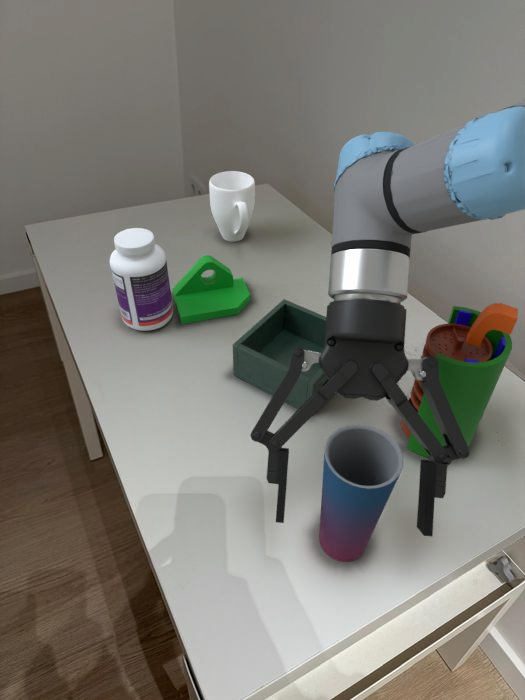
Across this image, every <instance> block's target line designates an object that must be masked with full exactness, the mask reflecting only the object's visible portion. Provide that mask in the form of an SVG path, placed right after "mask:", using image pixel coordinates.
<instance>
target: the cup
mask: <svg viewBox="0 0 525 700" xmlns="http://www.w3.org/2000/svg"><path fill="white" fill-rule="evenodd" d="M403 467H404V455H403V453H402V450H401V447H400V446H399V444H398V443H397V442H396V440H395V439H394V438H393V437H392V436H391V435H390V434H388V432H386V431H384V430H382V429H380V428H378V427H376V426H373V425H369V424H362V423H352V424H348V425H347V424H346V425H344V426H342V427H339V428H338V429H336V430H334V431H333V432H332V433H331V434H330V435H329V437H328V438H327V439H326V441H325V445H324V453H323V468H322V469H323V470H322V485H321V502H320V515H319V516H320V517H319V531H318V532H319V533H318V540H319V544H320V547H321V548H322V550H323V551H324V553H325V554H326V555H327V556H328V557H330V558H332V559H334V560H335V561H339V562H345V563H346V562H352V561H355V560H357V559H359V558H360V557H361V556H362V555H363V554H364V552H365V550H366V548H367V546H368V544H369V541H370V540H371V537H372V536H373V533H374V532H375V528H376V526H377V525H378V522H379V520H380V518H381V517H382V513H383V511H384V509H385V507H386V505H387V503H388V501H389V499H390V496H391V494H392V492H393V490H394V488H395V486H396V484H397V481H398V480H399V478H400V476H401V473H402V470H403Z"/></svg>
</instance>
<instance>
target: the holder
mask: <svg viewBox="0 0 525 700" xmlns="http://www.w3.org/2000/svg"><path fill="white" fill-rule="evenodd" d="M325 329H326V315H322V314H320V313H317V312H315V311H314V310H311V309H308V308H306V307H303V306H301V305H299V304H297V303H294V302H292V301H289V300H288V299H282V300H281V301H280V302H279V303H278V304H277V305H275V306H274V307H273V308H272V309H270V311H269V312H267V314H265V315H264V316H263V317H262V318H261V319H259V320H258V322H256V323H255V324H254V325H253V326H252V327H250V328H249V330H247V331H246V332H245V333H244V334H243V335H242V336H241V337H240V338H238V339H237V340H236V341H234V343H233V344H232V369H233V371H232V372H233V374H232V375H233V376H235V377H236V378H238V379H240V380H242V381H243V382H246V383H248V384H249V385H251V386H253V387H255V388H257V389H259V390H261V391H263V392H265V393H267V394H268V395H271V396H273V395H274V393H275V392H276V390H277V388H278V387H279V385H280V383H281V382H282V380H283V378H284V377H285V375H286V373H287V372H288V370H289V366H290V360H291V355H292V351H293V349H294V348H296V347H301V348H302V349H304V350H308V351H313V352H318V353H321V351H322V349H323V347H324V342H325ZM326 380H327V377H326V376H325V374H324V373H323V371H322V369H321V368H320V366H319V364H318V363H314V364H312V365H311V367H310V369H309V370H308V371H306V372H303V371H301V373H300V376H299V378H298V380H297V382H296V383H295V385H294V387H293V388H292V390H291V392H290V393H289V395H288V397H287V398H286V400H285V402H284V403H285V404H287V405H290V406H291V407H294V408H295V409H297V410H298V409H299V408H300V407H301V406H302V405H303V404H304V403H305V402H306V401H307V400H308V399H309V398H310V397H311V396H312V395H313V394H314V393H315V392H316V391H317V389H318V388H319V387H320V386H321V385H322V384H323V383H324V382H325V381H326Z"/></svg>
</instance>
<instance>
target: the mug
mask: <svg viewBox="0 0 525 700" xmlns="http://www.w3.org/2000/svg"><path fill="white" fill-rule="evenodd" d="M208 191H209V206H210V211H211V214H212V217H213V219H214V223H215V224H216V226H217V229H218V231H219V233H220V236H221V237H222V239H223V240H225V241H227V242H239V241H242V240H243V239H244V238H245V235H246V233H247V231H248V228H249V225H250V223H251V220H252V218H253V215H254V211H255V205H256V204H255V203H256V201H255V200H256V196H255V195H256V181H255V178H254V177H253V176H252V175H250V174H248V173H246V172H244V171H243V172H242V171H238V170H227V171H222V172H217V173H216V174H214V175H212V176H211V177H210V178H209V181H208Z"/></svg>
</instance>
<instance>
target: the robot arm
mask: <svg viewBox="0 0 525 700" xmlns="http://www.w3.org/2000/svg"><path fill="white" fill-rule="evenodd" d="M333 192H334V193H333V194H334V201H333V219H332V231H331V233H332V235H331V250H330V264H329V277H328V287H327V289H328V290H327V295H328V296H329V297H330V298H331V299H333V301H330V302H329V303H328V305H327V306H326V315H325V317H326V329H325V342H324V347H323V349H322V351H321V353H318V352H313V351H308V350H304V349H302V348H301V347H296V348H294V349H293V351H292V355H291V360H290V366H289V370H288V372H287V373H286V375H285V377H284V378H283V380H282V382H281V383H280V385H279V387H278V388H277V390H276V392H275V393H274V395H272V397H271V399H270V400H269V402H268V403H267V405H266V407H265V408H264V410H263V412H262V414H261V415H260V417H259V418H258V420H257V422H256V424H255V426H254V427H253V428H252V430H251V432H250V438H251V440H252V441H253V442H255V443H259V444H261V445H263V446H265V447H266V448H267V451H268V453H267V454H268V455H267V469H266V480H267V484H272V485H277V497H276V498H277V499H276V511H275V514H276V515H275V523H278V524H279V523H280V524H284V523H285V512H286V511H285V510H286V499H287V498H286V497H287V485H288V482H287V481H288V473H289V471H288V470H289V469H288V468H289V459H290V458H289V456H290V449H289V447H283V446H284V445H285V444H286V443H287V442H288V441H289V440H290V439H291V438H292V437H293V436H294V435H295V434H296V433H297V432H298V431H299V430H300V429H301V428H302V427H303V426H304V425H305V424H306V423H307V422H308V421H309V420H310V419H311V418H312V417H313V416H314V415H315V414H316V412H318V411H319V410H320V409H321V408H322V407H323V406H324V405H325V404H326V403H327V402H328V401H329V400H330V399H331V398H333V396H334V395H335V394H337V395H338V396H340V397H342V398H344V399H359V398H362V399H365V400H369V401H375V402H376V401H380V400H383V399H384V398H385V400H386V401H387V402H388V404H390V406H392V408H393V409H394V410H395V412H396V413H397V415H398V416H399V418H400V419H401V418H402V420H403V421H404V422H405V424H406V425H407V427H408V428H409V429H410V431H411V432H412V433H413V435H414V436H415V437H416V439H417V440H418V441H419V443H420V444H421V445H422V447H423V448H424V450H425V451H426V452H427V454H428V455H429V456H430V458H429V459H420V467H419V481H418V482H419V486H418V497H417V498H418V501H417V513H416V515H417V516H416V529H418V530H419V532H420V533H421V534H422V535H423V536H424V537H433V532H434V516H435V502H436V501H435V499H444V498H445V495H446V491H447V477H448V475H447V474H448V466H450V465H451V464H452V462H453V461H456V460H459V459H461V460H466V459H467V458H468V457H469V456H470V449H469V447H468V446H467V444H466V442H465V439H464V437H463V435H462V432H461V430H460V428H459V425H458V423H457V421H456V418H455V416H454V414H453V411H452V409H451V407H450V404H449V402H448V400H447V397H446V395H445V393H444V390H443V388H442V386H441V383H440V381H439V364H438V360H437V359H436V358H435V357H424V358H422V359H421V358H409V359H408V358H407V355H406V353H405V352H406V351H405V340H406V328H407V327H406V326H407V324H406V323H407V308H406V307H405V306H404V305H403V304H401V303H403V302H404V301H406V300H407V299H408V296H409V295H408V294H409V293H408V292H409V275H410V260H411V259H410V258H411V249H412V238H413V235H415V234H416V235H417V234H422V233H427V232H430V231H435V230H440V229H445V228H450V227H455V226H459V225H465V224H470V223H474V222H479V221H486V220H490V221H492V220H498V219H502V218H504V217H505V216H506V215H508V214H512V213H513V214H514V213H516V212H520V211H523V210H525V99H523V100H521V101H519V102H516V103H513V104H511V105H510V106H506V107H505V108H502V109H500V110H497V111H493V112H492V111H491V112H489V113H485V114H484V115H482V116H480V117H476V118H474V119H472V120H470V121H468V122H466V123H465V124H461V125H459V126H457V127H454V128H451V129H449V130H447V131H444V132H441V133H440V134H437V135H434V136H433V137H431V138H428V139H426V140H424V141H421V142H419V143H417V144H414V143H413V141H412V139H409V137H407V136H405V135H403V134H400V133H396V132H391V131H376V132H374V133H372V134H366V133H363V134H359V135H358V136H355V137H353V138H351V139H350V140H348V141H347V142H346V143H345V144H344V145H343V146H342V148H341V150H340V152H339V156H338V162H337V169H336V177H335V182H334V185H333ZM314 363H318V364H319V366H320V368H321V369H322V371H323V373H324V374H325V376H326V377H327V380H326V381H325V382H324V383H323V384H322V385H321V386H320V387H319V388H318V389H317V391H316V392H315V393H314V394H313V395H312V396H311V397H310V398H309V399H308V400H307V401H306V402H305V403H304V404H303V405H302V406H301V407H300V408H299V409H297V410H296V411H295V412H294V413H293V414H291V415H290V417H289V418H288V419H287V420H286V421H285V422H284V423H283V424H282V425H281V426H280V427H279V428H278V429H277V430H276V431H275V432H272V431H269V429H270V427H271V426H272V423H274V420H275V419H276V416H277V415H278V413H279V412H280V410H281V409H282V407H283V406H284V404H285V403H286V402H285V400H286V398H287V397H288V395H289V393H290V392H291V390H292V388H293V387H294V385H295V383H296V382H297V380H298V378H299V376H300V373H301V371H303V372H306V371H308V370H309V369H310V367H311V365H312V364H314ZM408 371H409V372H410V373H412V377H413V378H414V380H415V379H416V380H420V383H421V387H422V389H423V392H424V394H425V396H426V399H427V401H428V403H429V406H430V408H431V411H432V413H433V415H434V418H435V420H436V422H437V425H438V427H439V429H440V432H441V434H442V436H443V439H444V441H445V443H446V446H442V445H441V444H440V442H439V441H438V440H437V438H436V437H435V436H434V434H433V433H432V432H431V430H430V429H429V428H428V426H427V425H426V424H425V422H424V421H423V420H422V418H421V417H420V415H419V414H418V413H417V411H416V410H415V409H414V407H413V406H412V405H411V403H410V402H409V401H408V399H409V398H408V397H407V395H406V393H405V392H404V391H403V390H402V388H401V387H400V386H399V384H398V383H399V382H400V381H401V379H402V378H403V377H404V376H405V374H407V372H408Z"/></svg>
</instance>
